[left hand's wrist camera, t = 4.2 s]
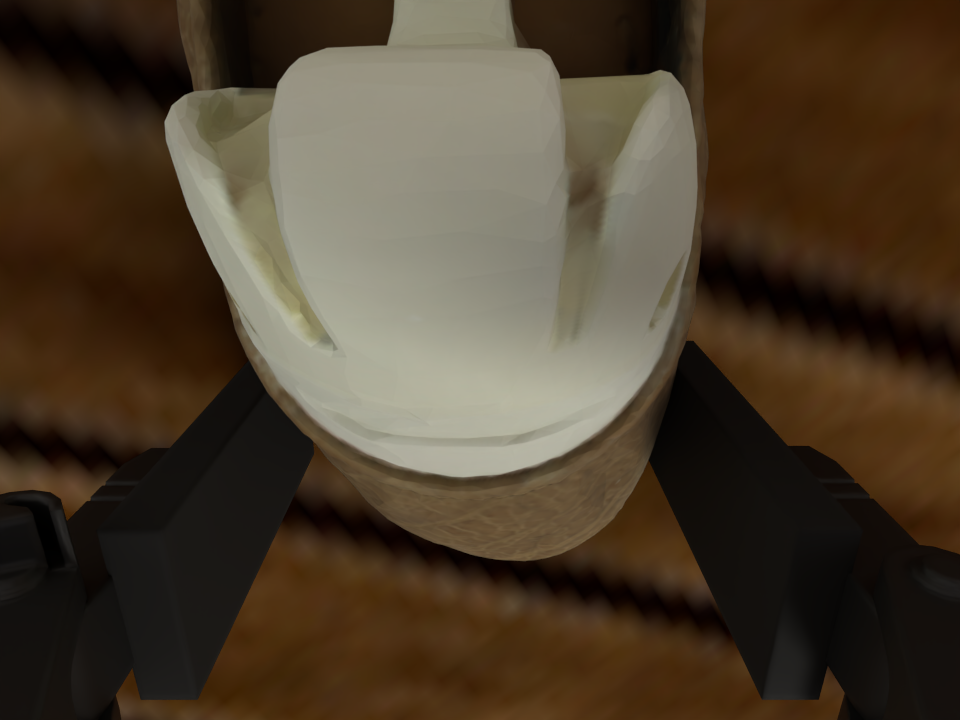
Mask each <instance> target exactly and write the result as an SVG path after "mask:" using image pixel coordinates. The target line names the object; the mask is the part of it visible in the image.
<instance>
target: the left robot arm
mask: <svg viewBox="0 0 960 720" xmlns="http://www.w3.org/2000/svg"><path fill="white" fill-rule="evenodd" d="M313 455H314V448H313V440H312V439H311V438H310V437H308V436H306V435H305V434H303V433H302V431H301V430H300V429H299V428H298V427H297V426H296V425H295V424H294V423H293V421H292V420H291V419H290V418H289V417H288V416H287V415H286V414H285V413H284V411H283V410H282V409H281V408H280V407H279V406H278V404H277V403H276V402H275V401H274V400H273V398H272V397H271V396H270V395H269V394H268V392H267V391H266V389H265V387H264V385H263V384H262V382H261V380H260V379H259V377H258V375H257V373H256V372H255V370H254V368H253V366H252V364H251V363H250V361H248V362H247V363H246V364H245V365H244V366H243V367H242V369H241V370H240V371H239V372H238V373H237V374H236V375H235V376H234V377H233V379H232V380H231V381H230V382H229V383H228V384H227V385H226V386H225V387H224V389H223V390H222V391H221V392H220V393H219V394H218V395H217V396H216V397H215V399H214V400H213V401H212V402H211V403H210V404H209V405H208V406H207V407H206V409H205V410H204V411H203V412H202V413H201V414H200V415H199V416H198V417H197V419H196V420H195V421H194V422H193V423H192V424H191V425H190V426H189V427H188V429H187V430H186V431H185V432H184V433H183V434H182V435H181V436H180V437H179V439H178V440H177V441H176V442H175V443H174V444H173V445H172V446H171V447H170V448H151V449H149V450H147V451H145V452H144V453H142V454H140V455H138V456H137V457H135V458H133V459H131V460H130V461H128V462H126V463H124V464H123V465H122V466H121V467H120V468H119V469H118V470H117V471H116V472H115V473H114V474H113V475H112V476H111V477H110V478H109V479H108V480H107V481H106V485H105V486H101V487H100V488H99V489H98V490H97V491H96V492H95V493H94V494H93V495H92V496H91V501H87V502H86V503H85V504H84V505H83V506H82V507H81V508H80V509H79V510H78V511H77V512H76V513H75V514H74V515H73V516H72V517H71V518H70V519H69V520H68V521H67V520H66V517H65V513H64V509H63V506H62V502H61V499H60V498H58V497H57V496H55V495H54V494H52V493H51V492H44V491H36V490H28V491H17V492H8V493H5V494H1V495H0V720H121V715H120V709H119V705H118V702H117V698H116V693H117V692H118V690H119V688H120V687H121V685H122V684H123V682H124V680H125V679H126V677H127V675H128V674H129V672H130V671H131V669H132V668H133V672H134V675H135V679H136V683H137V687H138V691H139V694H140V698H141V700H198V697H199V695H200V693H201V691H202V689H203V687H204V685H205V683H206V681H207V678H208V676H209V674H210V672H211V670H212V668H213V666H214V664H215V662H216V659H217V657H218V655H219V653H220V651H221V649H222V647H223V645H224V643H225V640H226V638H227V636H228V634H229V632H230V630H231V628H232V626H233V624H234V621H235V619H236V617H237V615H238V613H239V611H240V609H241V607H242V604H243V602H244V600H245V598H246V596H247V594H248V592H249V590H250V588H251V585H252V583H253V581H254V579H255V577H256V575H257V573H258V571H259V569H260V566H261V564H262V562H263V560H264V558H265V556H266V554H267V552H268V550H269V547H270V545H271V543H272V541H273V539H274V537H275V535H276V533H277V531H278V528H279V526H280V524H281V522H282V520H283V518H284V516H285V514H286V512H287V509H288V507H289V505H290V503H291V501H292V499H293V497H294V495H295V493H296V490H297V488H298V486H299V484H300V482H301V480H302V478H303V476H304V474H305V471H306V469H307V467H308V465H309V463H310V461H311V459H312V457H313ZM649 462H650V464H651V466H652V468H653V470H654V472H655V474H656V476H657V479H658V481H659V483H660V485H661V487H662V489H663V491H664V493H665V495H666V498H667V500H668V502H669V504H670V506H671V508H672V510H673V512H674V514H675V517H676V519H677V521H678V523H679V525H680V527H681V529H682V531H683V533H684V536H685V538H686V540H687V542H688V544H689V546H690V548H691V550H692V552H693V555H694V557H695V559H696V561H697V563H698V565H699V567H700V569H701V572H702V574H703V576H704V578H705V580H706V582H707V584H708V586H709V588H710V591H711V593H712V595H713V597H714V599H715V601H716V603H717V605H718V607H719V610H720V612H721V614H722V616H723V618H724V620H725V622H726V624H727V626H728V629H729V631H730V633H731V635H732V637H733V639H734V641H735V643H736V645H737V648H738V650H739V652H740V654H741V656H742V658H743V660H744V662H745V664H746V667H747V669H748V671H749V673H750V675H751V677H752V679H753V681H754V683H755V686H756V688H757V690H758V692H759V694H760V696H761V698H762V700H819V697H820V693H821V689H822V685H823V681H824V678H825V674H826V670H827V666H829V668H830V670H831V671H832V673H833V674H834V676H835V678H836V679H837V681H838V682H839V684H840V686H841V687H842V689H843V690H844V692H845V694H844V698H843V702H842V705H841V709H840V712H839V716H838V719H837V720H960V555H959V554H957V553H953V552H950V551H947V550H943V549H940V548H936V547H932V546H923V545H919V544H918V543H917V542H916V541H915V540H914V539H913V538H912V537H911V536H910V535H909V534H908V533H907V532H906V531H905V530H904V529H903V528H902V527H901V526H900V525H899V524H898V523H897V522H896V521H895V520H894V519H893V518H892V517H891V516H890V515H889V514H888V513H887V512H886V511H885V510H884V509H883V508H882V507H881V506H880V505H879V504H878V503H877V502H876V501H875V500H874V499H870V498H869V494H868V493H867V492H866V491H865V490H864V489H863V488H862V487H861V486H860V485H859V484H858V483H854V479H853V478H852V477H851V476H850V475H849V474H848V473H847V472H846V471H845V470H844V469H843V468H842V467H841V466H840V465H839V464H838V463H837V462H836V461H834V460H833V459H831V458H829V457H827V456H826V455H824V454H822V453H820V452H818V451H817V450H815V449H813V448H811V447H810V446H787V445H786V444H785V442H784V441H783V440H782V439H781V438H780V437H779V436H778V435H777V434H776V432H775V431H774V430H773V429H772V428H771V427H770V426H769V425H768V424H767V422H766V421H765V420H764V419H763V418H762V417H761V416H760V415H759V413H758V412H757V411H756V410H755V409H754V408H753V407H752V406H751V405H750V403H749V402H748V401H747V400H746V399H745V398H744V397H743V396H742V395H741V393H740V392H739V391H738V390H737V389H736V388H735V387H734V386H733V385H732V383H731V382H730V381H729V380H728V379H727V378H726V377H725V376H724V375H723V373H722V372H721V371H720V370H719V369H718V368H717V367H716V366H715V365H714V363H713V362H712V361H711V360H710V359H709V358H708V357H707V356H706V355H705V353H704V352H703V351H702V350H701V349H700V348H699V347H698V346H697V345H696V343H695V342H694V341H686V343H685V345H684V348H683V350H682V352H681V355H680V357H679V360H678V365H677V370H676V375H675V379H674V383H673V387H672V391H671V395H670V399H669V402H668V405H667V408H666V411H665V414H664V417H663V420H662V423H661V426H660V429H659V432H658V435H657V438H656V441H655V444H654V447H653V449H652V452H651V455H650V457H649Z"/></svg>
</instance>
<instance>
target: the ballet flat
mask: <svg viewBox="0 0 960 720" xmlns="http://www.w3.org/2000/svg"><path fill="white" fill-rule="evenodd" d="M176 1H177V11H178V22H179V28H180V34H181V39H182V43H183V47H184V51H185V54H186V59H187V63H188V66H189V69H190V72H191V77H192V82H193V88H194V92H192V93H189V94H186V95H184V96H183V97H182V98H181V99H179V100H178V101H177V102H176V103H174V104H173V105H172V106H171V109H170V111H169V113H168V115H167V118H166V120H165V135H166V142H167V145H168V148H169V151H170V154H171V158H172V161H173V164H174V167H175V170H176V173H177V176H178V179H179V182H180V185H181V189H182V192H183V195H184V198H185V201H186V204H187V207H188V209H189V212H190V214H191V216H192V218H193V220H194V223H195V225H196V227H197V229H198V232H199V234H200V236H201V238H202V241H203V243H204V245H205V247H206V250H207V252H208V254H209V256H210V258H211V260H212V262H213V264H214V266H215V268H216V270H217V271H218V273H219V275H220V277H221V278H222V280H223V286H224V290H225V294H226V297H227V300H228V304H229V307H230V310H231V314H232V318H233V322H234V327H235V331H236V333H237V335H238V337H239V339H240V342H241V344H242V346H243V348H244V351H245V353H246V355H247V357H248V359H249V361H250V363H251V364H252V366H253V368H254V370H255V372H256V373H257V375H258V377H259V379H260V380H261V382H262V384H263V385H264V387H265V389H266V391H267V392H268V394H269V395H270V396H271V397H272V398H273V400H274V401H275V402H276V403H277V404H278V406H279V407H280V408H281V409H282V410H283V411H284V413H285V414H286V415H287V416H288V417H289V418H290V419H291V420H292V421H293V423H294V424H295V425H296V426H297V427H298V428H299V429H300V430H301V431H302V433H303V434H305V435H306V436H308V437H310V438H311V439H312V440H313V441H314V442H315V443H316V444H317V446H318V447H319V448H320V450H321V451H322V452H323V454H324V455H325V456H326V458H327V459H328V460H329V461H330V462H331V463H332V464H333V465H334V466H335V467H337V468H338V469H339V471H340V472H341V473H342V474H343V475H344V476H345V477H346V478H347V479H348V480H349V481H350V482H351V483H352V484H353V485H354V487H355V488H356V489H357V490H358V491H359V492H360V493H361V495H362V496H363V497H364V498H365V500H366V501H367V502H368V503H369V504H371V505H372V506H373V507H374V508H375V509H377V510H378V511H379V512H380V513H382V514H383V515H384V516H385V517H386V518H387V519H389V520H390V521H392V522H394V523H395V524H397V525H399V526H400V527H402V528H403V529H405V530H407V531H409V532H412V533H414V534H416V535H418V536H420V537H422V538H424V539H427V540H429V541H432V542H434V543H437V544H442V545H445V546H448V547H451V548H454V549H457V550H459V551H462V552H465V553H468V554H471V555H476V556H480V557H485V558H491V559H498V560H517V561H527V560H537V559H542V558H548V557H551V556H555V555H558V554H561V553H563V552H566V551H568V550H570V549H572V548H574V547H576V546H578V545H580V544H581V543H583V542H584V541H586V540H587V539H589V538H591V537H592V536H594V535H595V534H596V533H597V532H599V531H600V530H601V529H602V528H604V527H605V526H606V525H607V524H608V523H609V522H610V521H612V520H613V519H614V517H615V516H616V514H617V513H618V512H619V510H620V509H621V508H622V507H623V505H624V503H625V501H626V500H627V498H628V497H629V495H630V494H631V493H632V491H633V489H634V487H635V486H636V484H637V482H638V480H639V478H640V476H641V475H642V473H643V471H644V468H645V466H646V464H647V462H648V460H649V457H650V455H651V452H652V449H653V447H654V444H655V441H656V438H657V435H658V432H659V429H660V426H661V423H662V420H663V417H664V414H665V411H666V408H667V405H668V402H669V399H670V395H671V391H672V387H673V383H674V379H675V375H676V370H677V365H678V360H679V357H680V355H681V352H682V350H683V348H684V345H685V343H686V338H687V334H688V329H689V326H690V322H691V319H692V315H693V312H694V309H695V306H696V282H697V276H698V271H699V261H700V251H701V243H702V237H701V229H700V227H701V222H702V218H703V214H704V207H703V205H704V200H705V188H706V175H707V169H708V141H707V131H706V123H705V115H704V107H703V97H704V82H703V63H702V42H703V34H704V26H705V9H706V0H176Z"/></svg>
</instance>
